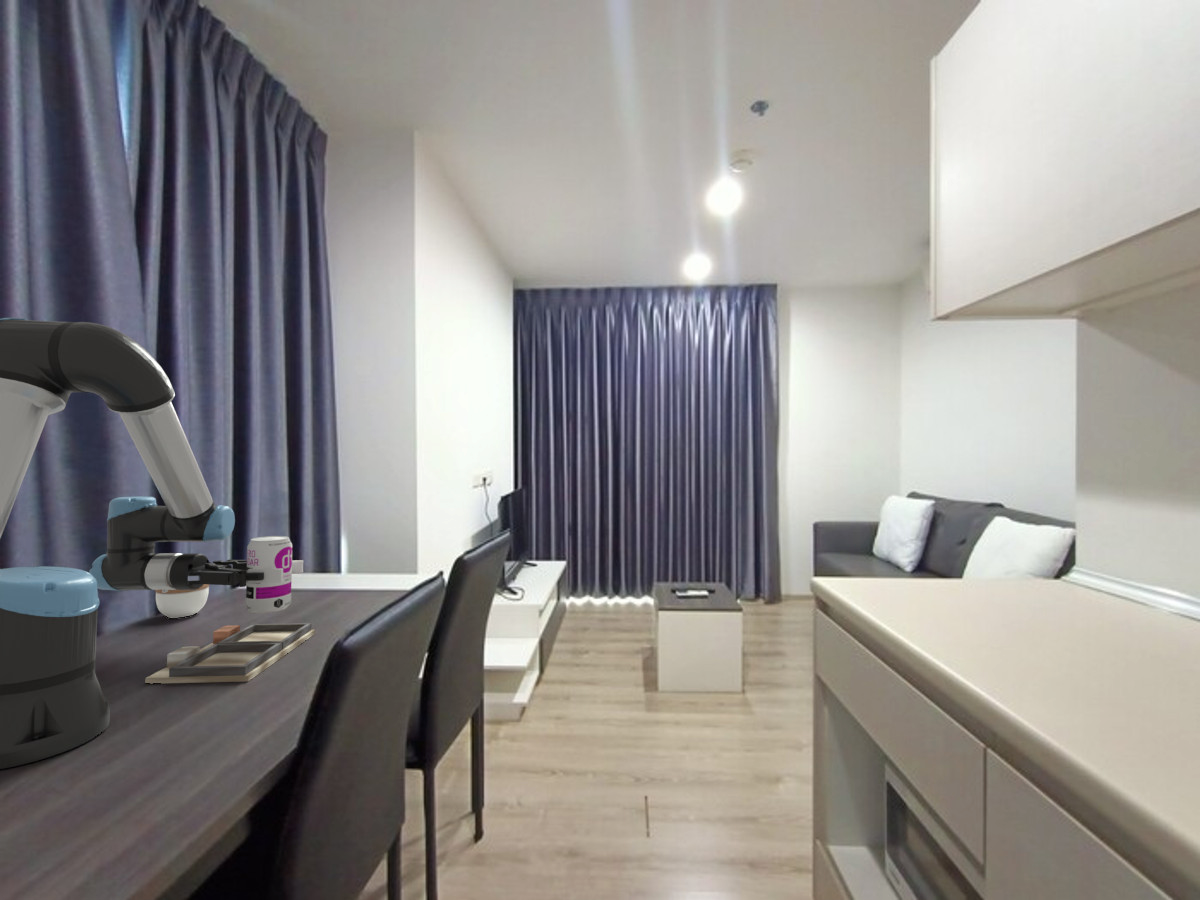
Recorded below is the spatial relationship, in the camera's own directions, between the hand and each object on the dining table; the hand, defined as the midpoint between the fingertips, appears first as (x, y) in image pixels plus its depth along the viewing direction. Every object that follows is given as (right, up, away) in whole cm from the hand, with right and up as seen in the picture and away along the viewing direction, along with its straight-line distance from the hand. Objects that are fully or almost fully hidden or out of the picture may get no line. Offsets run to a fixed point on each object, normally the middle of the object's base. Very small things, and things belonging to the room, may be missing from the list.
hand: (292, 570), depth 113 cm
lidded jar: (-39, -16, +19) cm, 47 cm away
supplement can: (-5, -8, -1) cm, 9 cm away
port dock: (-6, -15, -8) cm, 18 cm away
